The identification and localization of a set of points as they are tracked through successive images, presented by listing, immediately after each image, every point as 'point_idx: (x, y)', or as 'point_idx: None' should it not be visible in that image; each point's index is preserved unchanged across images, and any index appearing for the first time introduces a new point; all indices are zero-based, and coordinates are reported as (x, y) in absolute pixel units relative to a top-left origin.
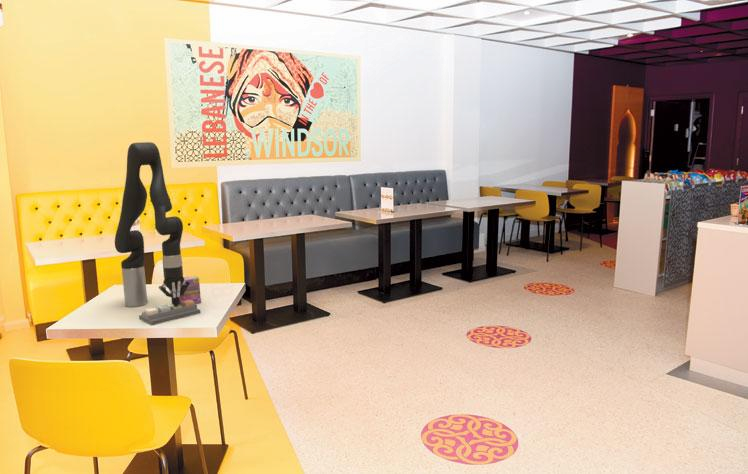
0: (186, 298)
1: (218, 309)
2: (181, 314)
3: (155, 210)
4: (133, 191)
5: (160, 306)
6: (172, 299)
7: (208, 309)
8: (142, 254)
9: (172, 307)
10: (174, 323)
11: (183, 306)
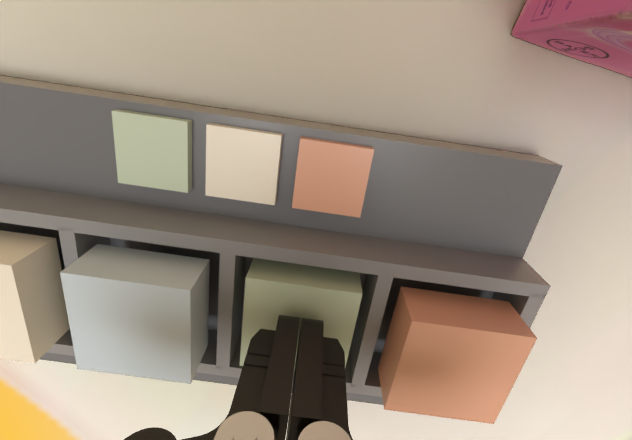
0: None
1: (588, 418)
2: None
3: None
4: None
5: (100, 292)
6: (241, 405)
7: (560, 363)
8: None
9: (247, 332)
10: (177, 414)
11: (362, 363)
